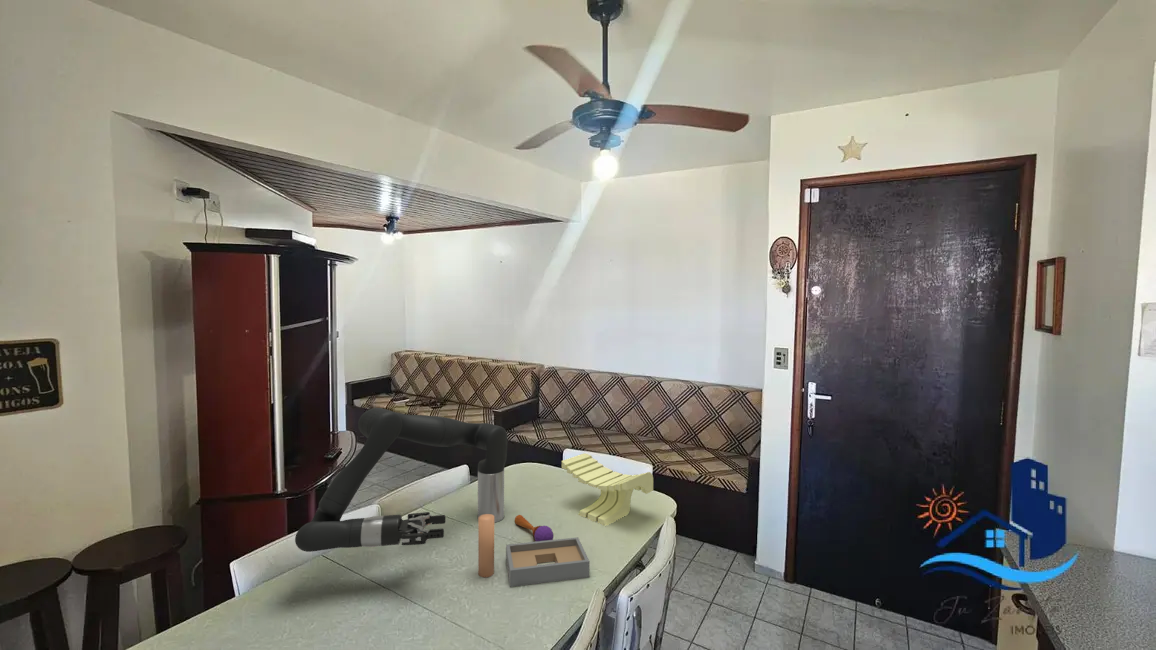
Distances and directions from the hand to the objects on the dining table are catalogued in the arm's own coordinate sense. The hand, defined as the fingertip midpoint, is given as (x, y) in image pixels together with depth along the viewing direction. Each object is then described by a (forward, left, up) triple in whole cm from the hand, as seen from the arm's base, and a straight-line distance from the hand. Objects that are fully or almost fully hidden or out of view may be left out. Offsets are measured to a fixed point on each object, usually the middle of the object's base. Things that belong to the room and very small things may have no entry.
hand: (444, 525), depth 131 cm
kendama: (-19, +27, -15) cm, 37 cm away
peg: (0, +11, -15) cm, 19 cm away
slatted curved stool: (-30, +55, -15) cm, 65 cm away
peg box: (+1, +28, -15) cm, 32 cm away
